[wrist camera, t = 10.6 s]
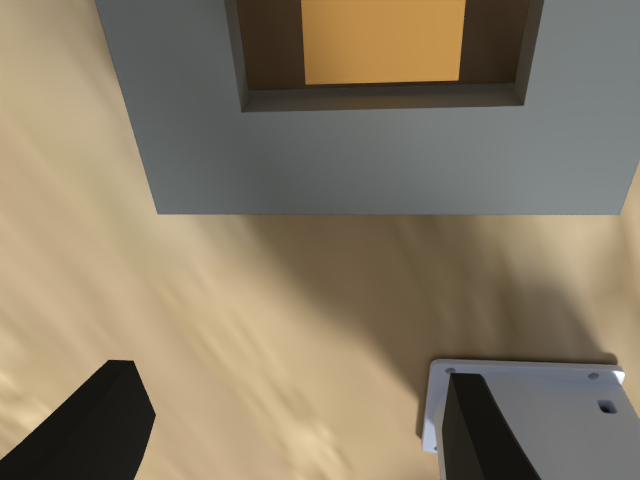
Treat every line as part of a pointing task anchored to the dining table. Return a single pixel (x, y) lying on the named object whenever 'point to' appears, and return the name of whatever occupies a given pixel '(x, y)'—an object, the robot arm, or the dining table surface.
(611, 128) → the grey frame
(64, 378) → the dining table surface
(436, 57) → the notched orange plank
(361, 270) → the dining table surface
